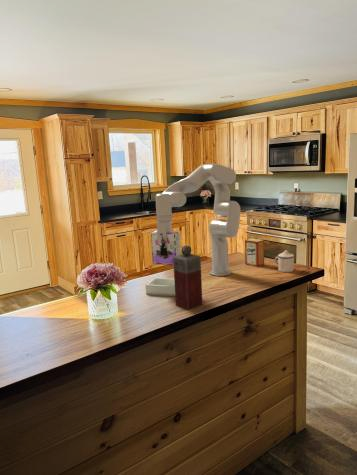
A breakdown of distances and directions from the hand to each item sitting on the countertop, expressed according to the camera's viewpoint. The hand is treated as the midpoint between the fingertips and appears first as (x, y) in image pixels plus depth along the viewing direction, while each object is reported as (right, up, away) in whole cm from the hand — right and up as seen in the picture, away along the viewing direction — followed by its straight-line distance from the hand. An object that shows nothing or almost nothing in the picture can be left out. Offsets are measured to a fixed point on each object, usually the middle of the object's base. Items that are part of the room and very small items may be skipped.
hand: (166, 253), depth 190 cm
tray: (+1, -20, +4) cm, 20 cm away
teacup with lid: (+68, -11, +31) cm, 75 cm away
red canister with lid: (+10, -23, -15) cm, 29 cm away
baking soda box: (+53, -9, +45) cm, 71 cm away
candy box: (0, -5, +1) cm, 5 cm away
